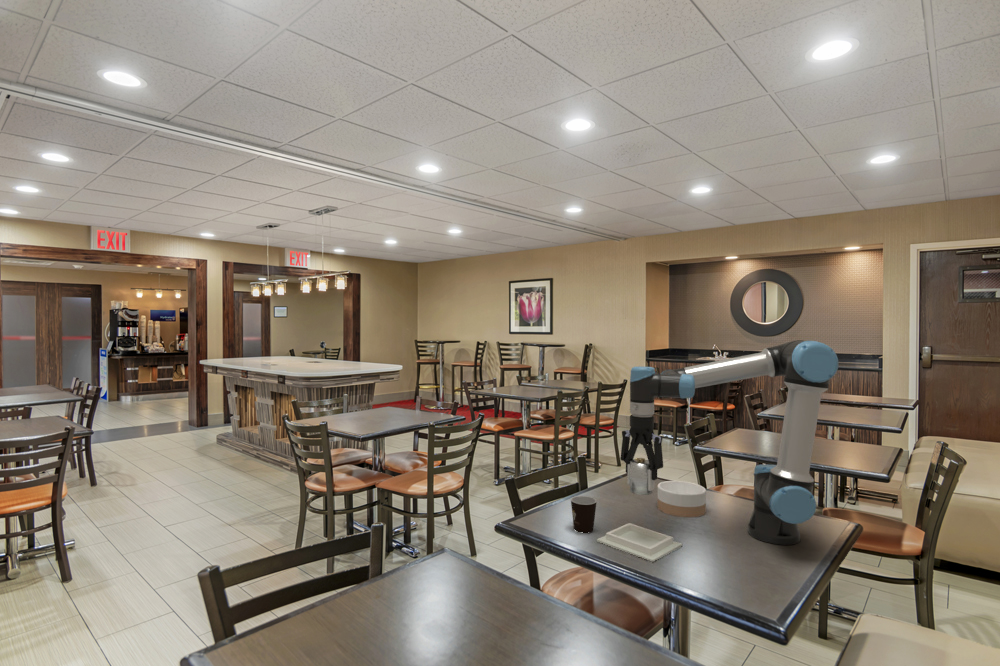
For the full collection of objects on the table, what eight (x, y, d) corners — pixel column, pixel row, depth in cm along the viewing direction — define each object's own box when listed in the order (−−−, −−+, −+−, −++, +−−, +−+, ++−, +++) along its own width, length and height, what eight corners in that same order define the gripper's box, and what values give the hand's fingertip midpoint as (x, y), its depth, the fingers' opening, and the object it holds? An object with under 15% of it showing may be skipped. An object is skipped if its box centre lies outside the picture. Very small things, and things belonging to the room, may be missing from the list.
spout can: (656, 491, 165) (657, 456, 165) (644, 496, 161) (644, 460, 161) (637, 486, 171) (638, 452, 170) (625, 490, 166) (625, 456, 166)
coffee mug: (596, 535, 170) (596, 505, 169) (569, 533, 171) (569, 503, 171) (596, 522, 181) (597, 494, 181) (572, 520, 183) (572, 492, 183)
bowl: (654, 500, 205) (654, 479, 204) (699, 502, 202) (699, 481, 202) (661, 516, 188) (661, 493, 187) (711, 519, 185) (711, 495, 185)
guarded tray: (682, 546, 161) (682, 537, 161) (652, 563, 150) (652, 553, 150) (627, 528, 176) (627, 519, 176) (596, 541, 165) (596, 533, 165)
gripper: (609, 412, 170) (608, 481, 171) (663, 420, 155) (662, 496, 156) (622, 409, 175) (621, 477, 176) (676, 418, 160) (675, 491, 161)
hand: (640, 486), depth 166 cm, fingers closed on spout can, 7 cm apart
